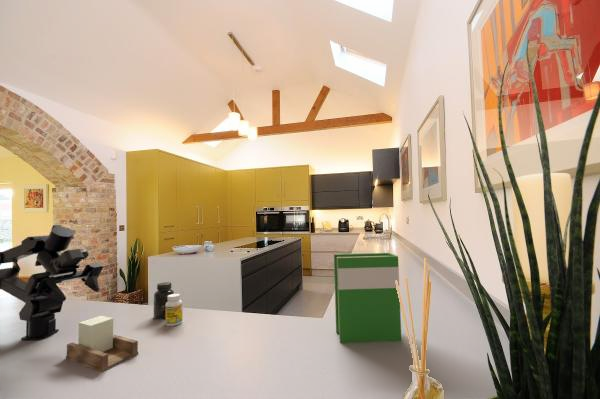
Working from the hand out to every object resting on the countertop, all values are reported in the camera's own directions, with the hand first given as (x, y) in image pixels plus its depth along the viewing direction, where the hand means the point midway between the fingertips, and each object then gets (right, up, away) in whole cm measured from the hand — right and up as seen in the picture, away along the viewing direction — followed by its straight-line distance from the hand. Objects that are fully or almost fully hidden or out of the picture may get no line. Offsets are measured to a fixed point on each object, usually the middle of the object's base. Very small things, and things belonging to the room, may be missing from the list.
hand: (82, 295), depth 82 cm
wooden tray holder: (+12, -13, -8) cm, 20 cm away
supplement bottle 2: (+21, -15, +14) cm, 29 cm away
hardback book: (+85, -13, 0) cm, 86 cm away
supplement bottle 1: (+14, -15, +21) cm, 29 cm away
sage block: (+9, -14, -7) cm, 18 cm away
